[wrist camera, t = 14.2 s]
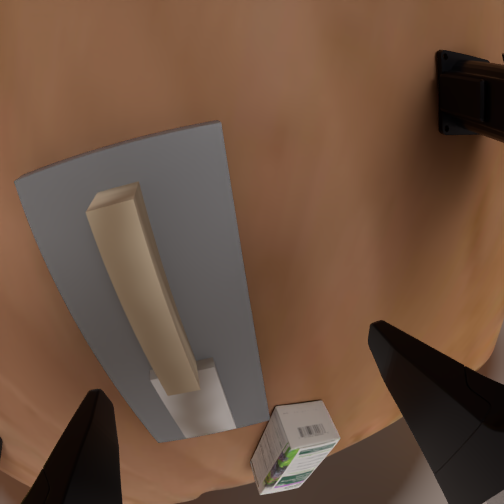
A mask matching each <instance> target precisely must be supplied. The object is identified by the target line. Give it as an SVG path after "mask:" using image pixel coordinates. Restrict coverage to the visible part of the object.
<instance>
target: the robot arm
mask: <svg viewBox="0 0 504 504" xmlns="http://www.w3.org/2000/svg"><path fill="white" fill-rule="evenodd" d="M443 55H444V58H443ZM502 57H503V61H504V54H502ZM437 60H438V79H439V131H440V133H442V134H445V135H471V134H481V135H484V136H486V137H489V138H492V139H495V140H497V141H500V142H503V143H504V65H501V64H495V63H490V62H489V61H488V60H485V59H481V58H477V57H473V56H469V55H465V54H461V53H456V52H451V51H447V50H439V51H438V53H437ZM445 127H446V128H445ZM368 345H369V347H370V350H371V352H372V354H373V357H374V359H375V361H376V364H377V366H378V368H379V371H380V373H381V376H382V378H383V380H384V382H385V384H386V386H387V388H388V390H389V392H390V393H391V395H392V397H393V399H394V400H395V402H396V404H397V406H398V408H399V409H400V411H401V413H402V415H403V417H404V419H405V420H406V422H407V424H408V426H409V428H410V430H411V431H412V433H413V435H414V437H415V439H416V441H417V442H418V444H419V446H420V448H421V450H422V452H423V454H424V456H425V458H426V460H427V462H428V463H429V465H430V467H431V469H432V471H433V473H434V475H435V477H436V479H437V481H438V483H439V485H440V487H441V489H442V491H443V493H444V495H445V497H446V499H447V502H448V504H482V503H484V502H485V501H486V502H487V504H504V385H503V384H501V383H498V382H496V381H494V380H492V379H489V378H487V377H485V376H483V375H481V374H479V373H477V372H476V371H474V370H472V369H470V368H468V367H466V366H465V367H464V365H463V364H461V363H459V362H457V361H455V360H454V359H452V358H450V357H448V356H446V355H445V354H443V353H441V352H439V351H437V350H436V349H434V348H432V347H430V346H428V345H427V344H425V343H423V342H421V341H419V340H418V339H416V338H414V337H412V336H410V335H409V334H407V333H405V332H403V331H401V330H400V329H398V328H396V327H394V326H392V325H391V324H389V323H387V322H385V321H383V320H379V321H376V322H374V323H371V325H370V329H369V336H368ZM21 504H122V493H121V479H120V462H119V445H118V437H117V430H116V422H115V414H114V407H113V404H112V402H111V401H110V399H109V398H108V397H107V396H106V394H105V393H104V392H103V391H102V390H101V389H94V390H90V391H89V392H88V393H87V395H86V396H85V398H84V400H83V401H82V403H81V404H80V406H79V408H78V409H77V411H76V412H75V414H74V416H73V417H72V419H71V421H70V422H69V424H68V426H67V427H66V429H65V431H64V432H63V434H62V436H61V437H60V439H59V441H58V442H57V444H56V446H55V448H54V449H53V451H52V453H51V454H50V456H49V458H48V460H47V461H46V463H45V465H44V467H43V469H42V470H41V472H40V474H39V475H38V477H37V479H36V481H35V482H34V484H33V486H32V487H31V489H30V490H29V492H28V494H27V495H26V497H25V498H24V499H23V501H22V503H21Z"/></svg>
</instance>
